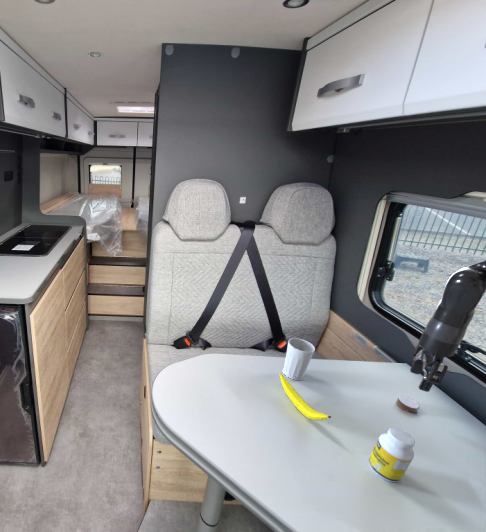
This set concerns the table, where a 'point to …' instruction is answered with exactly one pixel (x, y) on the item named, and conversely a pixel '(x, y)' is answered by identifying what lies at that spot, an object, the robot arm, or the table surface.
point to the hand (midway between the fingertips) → (418, 381)
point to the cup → (297, 358)
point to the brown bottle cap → (407, 404)
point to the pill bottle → (392, 454)
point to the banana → (301, 402)
